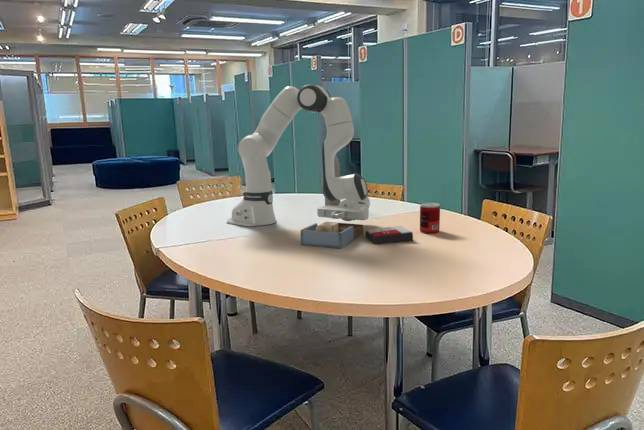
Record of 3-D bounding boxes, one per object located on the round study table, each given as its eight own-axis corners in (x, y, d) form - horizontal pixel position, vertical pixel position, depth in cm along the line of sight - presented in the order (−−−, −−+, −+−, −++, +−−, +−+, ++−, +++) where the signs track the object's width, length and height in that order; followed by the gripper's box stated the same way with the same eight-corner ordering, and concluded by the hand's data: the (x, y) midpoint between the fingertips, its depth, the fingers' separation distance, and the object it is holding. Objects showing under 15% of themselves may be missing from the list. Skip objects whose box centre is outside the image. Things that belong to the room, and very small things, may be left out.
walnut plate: (315, 236, 195) (315, 227, 194) (326, 231, 203) (326, 221, 203) (353, 240, 188) (353, 230, 187) (363, 234, 197) (362, 224, 196)
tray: (300, 244, 184) (300, 230, 183) (315, 236, 195) (315, 223, 193) (340, 248, 177) (340, 233, 176) (353, 240, 188) (353, 226, 187)
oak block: (326, 237, 191) (316, 242, 183) (326, 221, 189) (315, 227, 182) (338, 238, 188) (328, 244, 181) (338, 222, 187) (328, 228, 179)
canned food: (441, 229, 201) (442, 203, 199) (437, 234, 194) (437, 206, 192) (422, 228, 204) (422, 202, 202) (417, 233, 197) (418, 205, 195)
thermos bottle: (341, 204, 259) (340, 150, 253) (339, 207, 251) (338, 152, 246) (326, 204, 261) (325, 151, 255) (323, 207, 253) (322, 152, 247)
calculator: (365, 229, 191) (401, 224, 195) (365, 240, 192) (402, 234, 195) (374, 235, 181) (413, 230, 184) (375, 247, 182) (413, 241, 185)
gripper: (325, 200, 206) (310, 206, 194) (371, 203, 197) (359, 210, 185) (325, 215, 207) (310, 222, 195) (371, 219, 199) (359, 226, 187)
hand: (334, 216), depth 190 cm, fingers closed
